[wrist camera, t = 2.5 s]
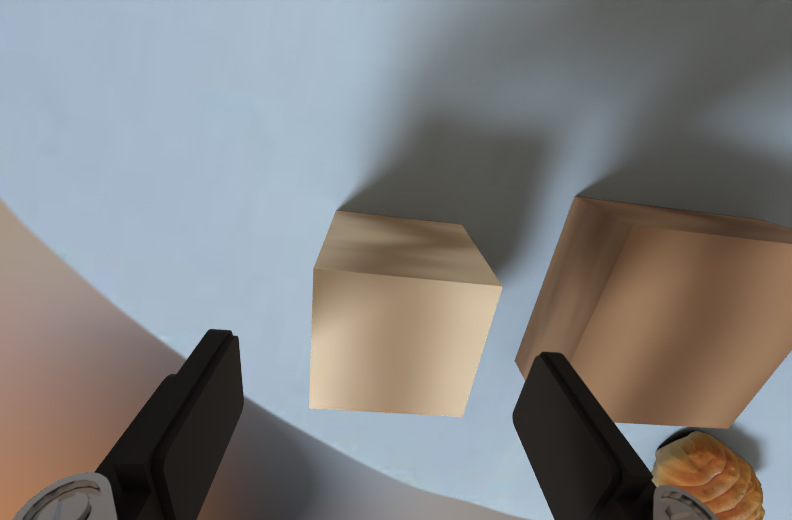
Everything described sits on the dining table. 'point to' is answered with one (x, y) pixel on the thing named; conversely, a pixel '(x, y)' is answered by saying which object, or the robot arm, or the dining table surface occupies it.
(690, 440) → the pastry
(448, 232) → the maple cube
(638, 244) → the walnut base
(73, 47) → the dining table surface
